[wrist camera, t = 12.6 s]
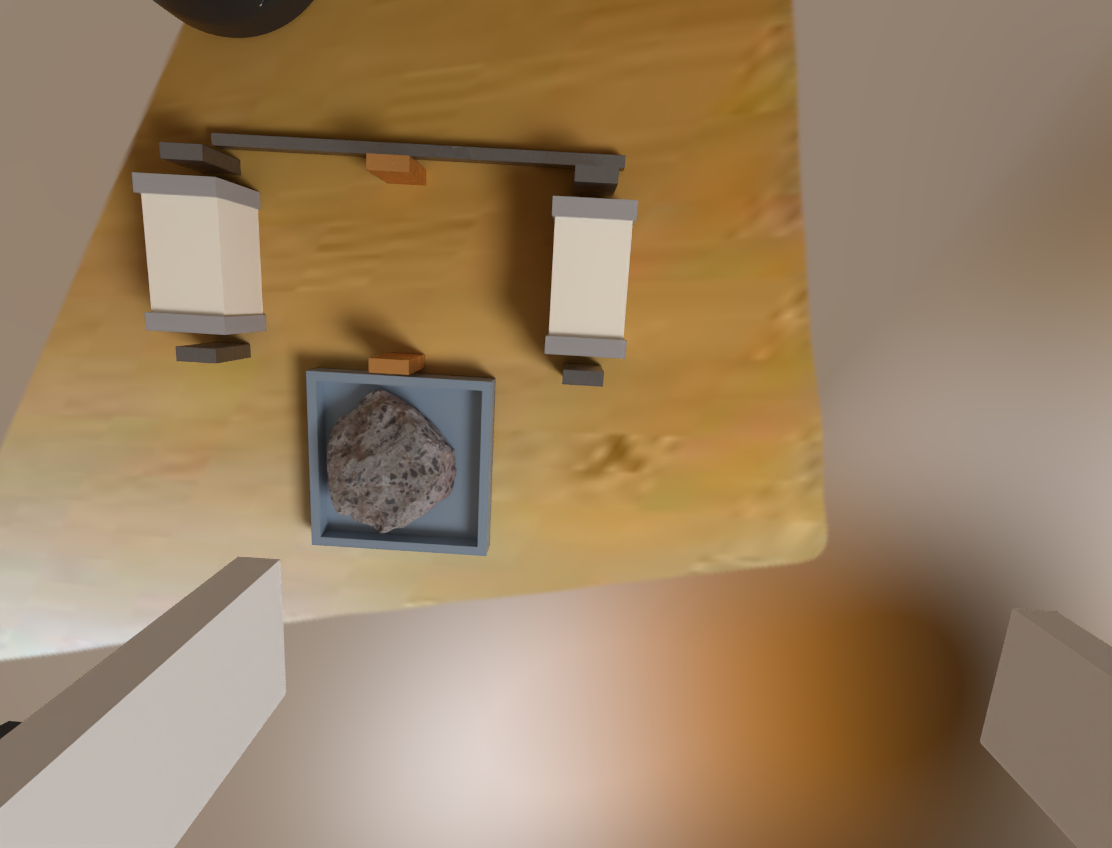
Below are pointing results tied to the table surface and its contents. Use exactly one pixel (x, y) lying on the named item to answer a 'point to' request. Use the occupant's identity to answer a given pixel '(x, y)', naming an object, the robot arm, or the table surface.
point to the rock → (388, 463)
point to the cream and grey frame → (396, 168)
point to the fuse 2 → (590, 276)
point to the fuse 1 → (201, 254)
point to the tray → (463, 422)
